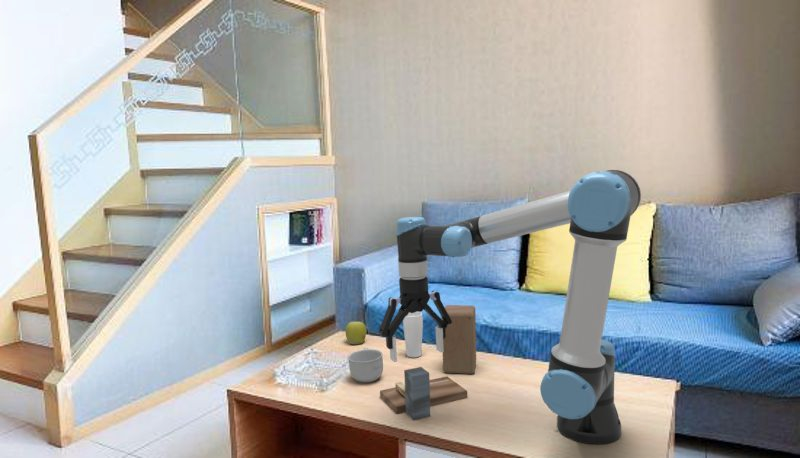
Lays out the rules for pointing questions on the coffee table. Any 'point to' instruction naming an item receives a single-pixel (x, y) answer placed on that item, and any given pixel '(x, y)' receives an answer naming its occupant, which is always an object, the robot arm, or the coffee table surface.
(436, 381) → the board
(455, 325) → the wooden block
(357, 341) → the apple
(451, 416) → the coffee table surface
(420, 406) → the grey block
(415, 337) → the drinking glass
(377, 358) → the teacup
